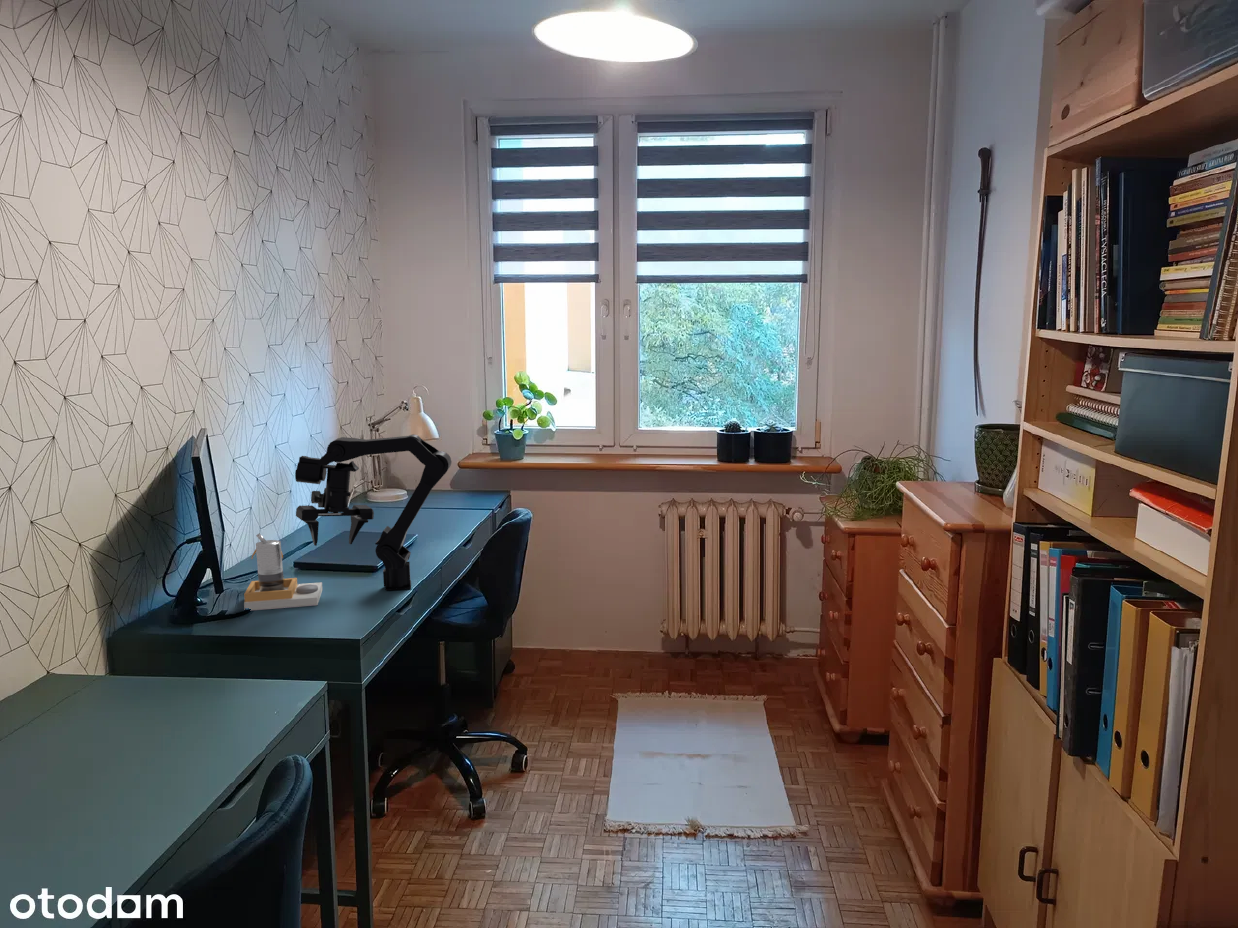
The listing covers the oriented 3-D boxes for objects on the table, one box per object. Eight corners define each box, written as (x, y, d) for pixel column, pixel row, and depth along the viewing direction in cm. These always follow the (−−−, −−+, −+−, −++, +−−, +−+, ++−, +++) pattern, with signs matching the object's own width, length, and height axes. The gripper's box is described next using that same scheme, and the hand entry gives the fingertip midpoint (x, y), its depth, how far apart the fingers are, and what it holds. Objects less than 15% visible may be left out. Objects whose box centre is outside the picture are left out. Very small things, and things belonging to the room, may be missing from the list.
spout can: (288, 589, 227) (284, 530, 225) (277, 596, 221) (272, 536, 219) (266, 588, 228) (262, 530, 225) (255, 596, 222) (250, 536, 219)
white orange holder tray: (322, 589, 234) (321, 574, 233) (317, 605, 221) (316, 589, 221) (253, 594, 230) (252, 579, 229) (244, 610, 217) (243, 595, 217)
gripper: (361, 480, 242) (357, 535, 244) (291, 479, 231) (287, 538, 233) (376, 488, 233) (371, 546, 235) (304, 488, 222) (300, 549, 224)
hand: (332, 544), depth 232 cm, fingers open, 9 cm apart
